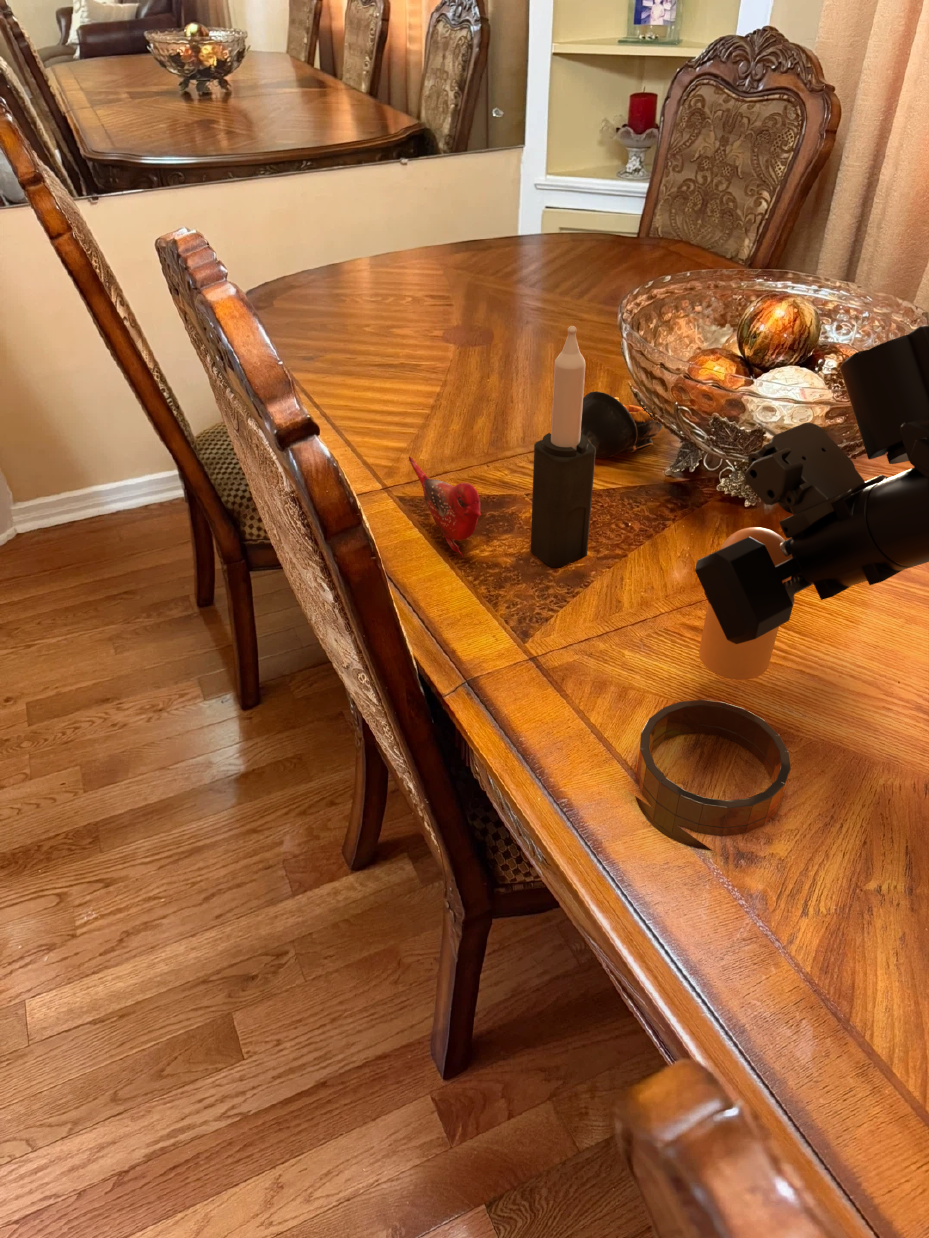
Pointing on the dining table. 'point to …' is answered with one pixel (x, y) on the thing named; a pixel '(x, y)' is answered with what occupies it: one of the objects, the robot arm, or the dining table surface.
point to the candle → (563, 468)
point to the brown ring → (696, 810)
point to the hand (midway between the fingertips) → (734, 583)
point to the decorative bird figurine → (451, 506)
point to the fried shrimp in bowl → (616, 425)
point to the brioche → (748, 655)
